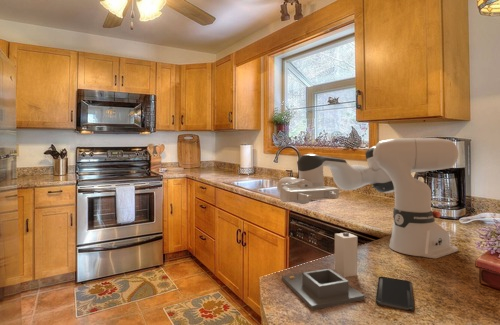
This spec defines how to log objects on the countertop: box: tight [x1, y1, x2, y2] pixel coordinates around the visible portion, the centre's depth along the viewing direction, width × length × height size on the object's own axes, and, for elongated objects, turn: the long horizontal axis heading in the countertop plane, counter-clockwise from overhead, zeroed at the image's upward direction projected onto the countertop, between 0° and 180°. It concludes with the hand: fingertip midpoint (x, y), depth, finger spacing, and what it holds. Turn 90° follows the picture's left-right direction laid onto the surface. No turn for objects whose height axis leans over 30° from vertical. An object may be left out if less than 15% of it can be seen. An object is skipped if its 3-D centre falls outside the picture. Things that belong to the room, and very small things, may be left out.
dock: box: [281, 267, 366, 311], centre depth 75 cm, size 14×16×4 cm
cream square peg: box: [333, 232, 359, 278], centre depth 84 cm, size 4×4×12 cm
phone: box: [375, 276, 415, 313], centre depth 72 cm, size 8×1×15 cm
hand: (322, 197), depth 95 cm, fingers open, 8 cm apart
